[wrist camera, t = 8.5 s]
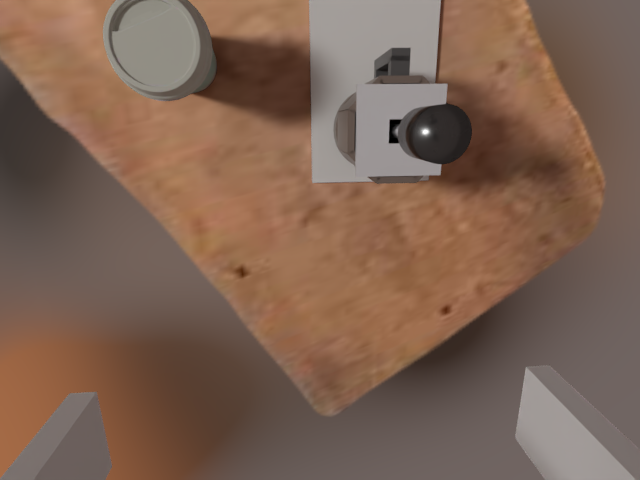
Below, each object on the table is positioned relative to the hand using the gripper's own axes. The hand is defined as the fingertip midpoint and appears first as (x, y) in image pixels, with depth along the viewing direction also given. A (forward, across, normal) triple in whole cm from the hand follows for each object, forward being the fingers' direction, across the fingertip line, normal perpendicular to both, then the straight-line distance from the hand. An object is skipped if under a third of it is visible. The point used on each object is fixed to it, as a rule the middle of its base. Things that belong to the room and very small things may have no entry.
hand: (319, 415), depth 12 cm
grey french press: (+36, +9, +9) cm, 38 cm away
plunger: (+31, +9, +8) cm, 33 cm away
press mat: (+37, +9, +12) cm, 40 cm away
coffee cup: (+37, -11, +15) cm, 41 cm away
